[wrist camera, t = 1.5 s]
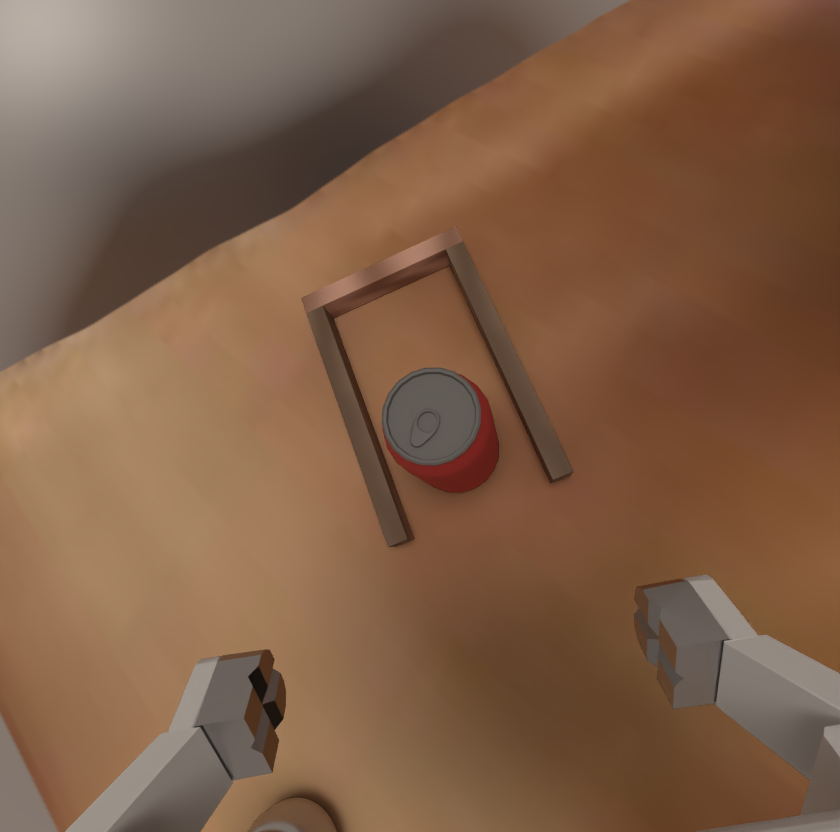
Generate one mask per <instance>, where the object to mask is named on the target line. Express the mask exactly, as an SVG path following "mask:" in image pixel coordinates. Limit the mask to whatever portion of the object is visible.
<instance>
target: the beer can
mask: <svg viewBox="0 0 840 832" xmlns="http://www.w3.org/2000/svg"><path fill="white" fill-rule="evenodd" d="M382 426H383V433H384V437H385V441H386V445H387V448H388V450H389V452H390V453H391V455H392V456H393V458H394V459H395V461H396V462H397V463H398V464H399V465H400V466H402V467H403V468H404V469H405V470H407V471H408V472H409V473H411V474H413V475H414V476H416V477H418V478H419V479H421V480H423V481H425V482H426V483H428V484H430V485H431V486H433V487H435V488H438V489H440V490H443V491H446V492H465V491H468V490H471V489H475V488H476V487H477V486H479V485H480V484H482V483H483V482H485V481H486V480H487V479H488V477H489V476H490V475H491V473H492V472H493V471H494V469H495V466H496V463H497V460H498V457H499V442H498V438H497V433H496V429H495V424H494V420H493V416H492V412H491V409H490V406H489V403H488V400H487V398H486V397H485V395H484V394H483V393H482V391H481V390H480V389H479V387H478V386H477V385H476V384H474V383H473V382H471V381H470V380H468V379H467V378H466V377H464V376H463V375H461V374H457V373H456V372H453V371H450V370H447V369H443V368H423V369H420V370H417V371H414V372H411V373H409V374H408V375H406V376H405V377H403V378H402V379H401V380H399V381H398V382H397V383H396V384H395V386H394V387H393V388H392V389H391V391H390V392H389V393H388V396H387V398H386V401H385V403H384V406H383V412H382Z"/></svg>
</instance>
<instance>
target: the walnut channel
mask: <svg viewBox="0 0 840 832" xmlns="http://www.w3.org/2000/svg"><path fill="white" fill-rule="evenodd" d="M449 265H450V267H451V269H452V271H453V273H454V275H455V277H456V280H457V282H458V284H459V286H460V288H461V290H462V293H463V295H464V297H465V299H466V301H467V303H468V306H469V308H470V310H471V312H472V314H473V316H474V318H475V321H476V323H477V325H478V327H479V329H480V331H481V334H482V336H483V338H484V340H485V342H486V344H487V347H488V349H489V351H490V353H491V355H492V357H493V360H494V362H495V364H496V366H497V368H498V370H499V373H500V375H501V377H502V379H503V381H504V383H505V385H506V388H507V390H508V392H509V394H510V396H511V398H512V401H513V403H514V405H515V407H516V409H517V411H518V414H519V416H520V418H521V420H522V422H523V424H524V427H525V429H526V431H527V433H528V435H529V437H530V440H531V442H532V444H533V446H534V448H535V450H536V452H537V455H538V457H539V459H540V461H541V463H542V465H543V468H544V470H545V472H546V474H547V476H548V478H549V481H550V483H553V482H556V481H558V480H561V479H563V478H566V477H568V476H570V475H571V474H572V473H573V469H572V467H571V465H570V463H569V461H568V459H567V457H566V455H565V453H564V451H563V449H562V447H561V444H560V442H559V440H558V438H557V436H556V434H555V432H554V430H553V428H552V426H551V424H550V422H549V419H548V417H547V415H546V413H545V411H544V409H543V407H542V405H541V403H540V401H539V399H538V397H537V394H536V392H535V390H534V388H533V386H532V384H531V382H530V380H529V378H528V376H527V374H526V372H525V369H524V367H523V365H522V363H521V361H520V359H519V357H518V355H517V353H516V351H515V349H514V347H513V344H512V342H511V340H510V338H509V336H508V334H507V332H506V330H505V328H504V326H503V324H502V322H501V319H500V317H499V315H498V313H497V311H496V309H495V307H494V305H493V303H492V301H491V299H490V297H489V294H488V292H487V290H486V288H485V286H484V284H483V282H482V280H481V278H480V276H479V274H478V272H477V269H476V267H475V265H474V263H473V261H472V259H471V257H470V255H469V253H468V251H467V249H466V247H465V244H464V242H463V240H462V238H461V236H460V234H459V232H458V230H457V228H456V227H454V228H452V229H449V230H447V231H445V232H443V233H441V234H439V235H436V236H434V237H432V238H430V239H428V240H426V241H423V242H421V243H419V244H417V245H415V246H413V247H410V248H408V249H406V250H404V251H402V252H400V253H398V254H395V255H393V256H391V257H389V258H387V259H385V260H382V261H380V262H378V263H376V264H374V265H372V266H369V267H367V268H365V269H363V270H361V271H359V272H356V273H354V274H352V275H350V276H348V277H346V278H343V279H341V280H339V281H337V282H335V283H333V284H331V285H328V286H326V287H324V288H322V289H320V290H318V291H315V292H313V293H311V294H309V295H307V296H305V297H302V298H301V299H302V302H303V305H304V308H305V311H306V314H307V317H308V319H309V322H310V325H311V328H312V331H313V334H314V337H315V339H316V342H317V345H318V348H319V351H320V354H321V357H322V359H323V362H324V365H325V368H326V371H327V374H328V377H329V379H330V382H331V385H332V388H333V391H334V394H335V397H336V399H337V402H338V405H339V408H340V411H341V414H342V417H343V419H344V422H345V425H346V428H347V431H348V434H349V437H350V439H351V442H352V445H353V448H354V451H355V454H356V457H357V459H358V462H359V465H360V468H361V471H362V474H363V477H364V479H365V482H366V485H367V488H368V491H369V494H370V497H371V499H372V502H373V505H374V508H375V511H376V514H377V517H378V519H379V522H380V525H381V528H382V531H383V534H384V537H385V539H386V542H387V545H388V547H395V546H398V545H401V544H403V543H406V542H408V541H411V540H413V539H414V536H413V534H412V531H411V528H410V526H409V523H408V520H407V517H406V515H405V512H404V509H403V506H402V504H401V501H400V498H399V496H398V493H397V490H396V487H395V485H394V482H393V479H392V477H391V474H390V471H389V468H388V466H387V463H386V460H385V457H384V455H383V452H382V449H381V447H380V444H379V441H378V438H377V436H376V433H375V430H374V427H373V425H372V422H371V419H370V417H369V414H368V411H367V408H366V406H365V403H364V400H363V398H362V395H361V392H360V389H359V387H358V384H357V381H356V378H355V376H354V373H353V370H352V368H351V365H350V362H349V359H348V357H347V354H346V351H345V349H344V346H343V343H342V340H341V338H340V335H339V332H338V329H337V327H336V324H335V321H334V319H333V318H335V317H337V316H339V315H342V314H344V313H346V312H348V311H350V310H353V309H355V308H357V307H359V306H361V305H364V304H366V303H368V302H370V301H372V300H374V299H377V298H379V297H381V296H383V295H385V294H388V293H390V292H392V291H394V290H396V289H399V288H401V287H403V286H405V285H407V284H410V283H412V282H414V281H416V280H418V279H421V278H423V277H425V276H427V275H429V274H432V273H434V272H436V271H438V270H440V269H442V268H445V267H447V266H449Z"/></svg>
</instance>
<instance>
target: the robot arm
mask: <svg viewBox="0 0 840 832" xmlns="http://www.w3.org/2000/svg"><path fill="white" fill-rule="evenodd" d="M634 600H635V602H636V603H637V605H638V607H639V609H638V610H637V612H636V613H635V614H634V626H635V630H636V635H637V639H638V642H639V644H640V647H641V649H642V651H643V653H644V655H645V657H646V659H647V660H648V661H649V662H651V663H652V664H654V665H655V666H657V680H658V682H659V684H660V686H661V688H662V689H663V691H664V693H665V695H666V697H667V699H668V701H669V703H670V704H671V706H672V708H673V709H677V708H685V707H693V706H700V705H708V704H716V706H717V707H718V708H719V709H720V710H722V711H723V712H724V713H725V714H727V715H728V716H729V717H730V718H732V719H733V720H734V721H735V722H737V723H738V724H739V725H740V726H742V727H743V728H744V729H746V730H747V731H748V732H749V733H751V734H752V735H753V736H754V737H756V738H757V739H758V740H759V741H761V742H762V743H763V744H764V745H766V746H767V747H768V748H769V749H771V750H772V751H773V752H774V753H776V754H777V755H778V756H780V757H781V758H782V759H783V760H785V761H786V762H787V763H788V764H790V765H791V766H792V767H793V768H795V769H796V770H797V771H798V772H800V773H801V774H802V775H803V776H805V777H806V778H807V779H808V780H810V782H809V785H808V789H807V793H806V796H805V800H804V803H803V807H802V811H801V814H802V815H799V816H792V817H786V818H779V819H773V820H766V821H759V822H753V823H746V824H740V825H733V826H726V827H720V828H713V829H707V830H700V831H694V832H840V673H838V672H836V671H834V670H832V669H830V668H828V667H826V666H825V665H823V664H821V663H819V662H817V661H815V660H813V659H811V658H809V657H808V656H806V655H804V654H802V653H800V652H798V651H796V650H794V649H793V648H791V647H789V646H787V645H785V644H783V643H781V642H779V641H777V640H776V639H774V638H772V637H770V636H768V635H758V634H757V633H756V632H755V630H754V629H753V628H752V627H751V625H750V624H749V623H748V622H747V620H746V619H745V618H744V617H743V615H742V614H741V613H740V612H739V610H738V609H737V608H736V607H735V605H734V604H733V603H732V602H731V600H730V599H729V598H728V597H727V595H726V594H725V593H724V592H723V591H722V589H721V588H720V587H719V586H718V584H717V583H716V582H715V581H714V579H713V578H712V577H710V576H709V575H707V574H706V575H700V576H694V577H689V578H683V579H676V580H670V581H664V582H659V583H653V584H648V585H642V586H637V587H636V589H635V595H634ZM274 660H275V659H274V658H273V656H272V654H271V652H270V650H258V651H251V652H243V653H236V654H229V655H223V656H217V657H210V658H203V659H200V660H199V661H198V663H197V664H196V665H195V666H194V669H193V671H192V674H191V676H190V679H189V681H188V683H187V686H186V688H185V691H184V693H183V696H182V698H181V701H180V703H179V706H178V708H177V710H176V713H175V715H174V718H173V720H172V723H171V725H170V728H169V730H168V732H164V733H161V734H160V735H159V736H158V737H157V738H156V739H155V740H154V741H153V742H152V743H151V744H150V745H149V746H148V747H147V748H146V749H145V750H144V751H143V752H142V753H141V754H140V755H139V756H138V757H137V758H136V759H135V760H134V761H133V762H132V763H131V764H130V765H129V767H128V768H127V769H126V770H125V771H124V772H123V773H122V774H121V775H120V776H119V777H118V778H117V779H116V780H115V781H114V782H113V783H112V784H111V785H110V786H109V787H108V788H107V789H106V790H105V791H104V792H103V793H102V794H101V795H100V796H99V797H98V798H97V799H96V800H95V801H94V802H93V803H92V804H91V806H90V807H89V808H88V809H87V810H86V811H85V812H84V813H83V814H82V815H81V816H80V817H79V818H78V819H77V820H76V821H75V822H74V823H73V824H72V825H71V826H70V827H69V828H68V829H67V830H66V831H65V832H200V831H201V830H202V828H203V827H204V825H205V824H206V822H207V821H208V819H209V818H210V816H211V815H212V814H213V812H214V811H215V809H216V808H217V806H218V805H219V803H220V802H221V800H222V799H223V797H224V796H225V794H226V793H227V791H228V790H229V788H230V787H231V785H232V784H233V782H232V780H237V779H242V778H248V777H253V776H258V775H263V774H269V773H272V772H273V767H274V762H275V758H276V753H277V748H278V743H279V739H278V737H277V734H276V732H275V729H276V728H277V726H278V725H279V724H280V723H281V721H282V720H283V718H284V713H285V707H286V689H285V684H284V680H283V678H282V675H281V673H279V672H278V671H276V670H274V669H273V664H274Z"/></svg>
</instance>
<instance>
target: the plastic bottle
mask: <svg viewBox="0 0 840 832" xmlns="http://www.w3.org/2000/svg"><path fill="white" fill-rule="evenodd" d="M248 832H337V831H336V828H335V826H334V824H333V822H332V820H331V818H330V817H329V815H328V814H327V813H326V811H325V810H324V809H323V808H322V807H320V806H319V805H318V804H316V803H315V802H313V801H311V800H308V799H305V798H289V799H285V800H283V801H281V802H279V803H277V804H275V805H274V806H272V807H271V808H269V809H268V810H266V811H265V812H264V813H262V814H261V815H260V816H259V817H258V818H257V819H256V820H255V821H254V823H253V824H252V826H251V827H250V829H249V830H248Z"/></svg>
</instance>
